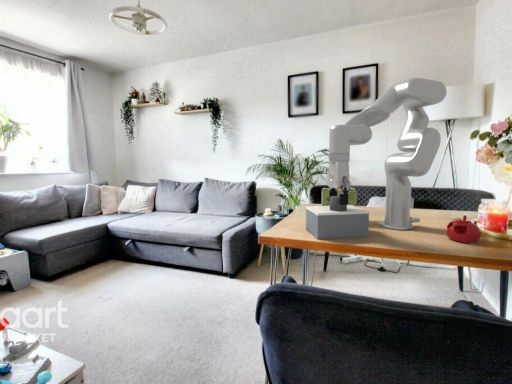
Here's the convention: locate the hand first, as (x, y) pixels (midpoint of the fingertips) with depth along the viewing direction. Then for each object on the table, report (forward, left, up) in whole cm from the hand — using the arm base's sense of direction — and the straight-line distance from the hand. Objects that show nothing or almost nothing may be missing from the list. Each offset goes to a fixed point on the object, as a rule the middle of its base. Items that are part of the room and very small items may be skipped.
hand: (338, 202), depth 103 cm
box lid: (0, -2, -4) cm, 4 cm away
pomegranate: (-40, +15, -13) cm, 45 cm away
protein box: (-10, -22, -13) cm, 27 cm away
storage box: (0, -2, -13) cm, 13 cm away
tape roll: (0, 0, -3) cm, 3 cm away
